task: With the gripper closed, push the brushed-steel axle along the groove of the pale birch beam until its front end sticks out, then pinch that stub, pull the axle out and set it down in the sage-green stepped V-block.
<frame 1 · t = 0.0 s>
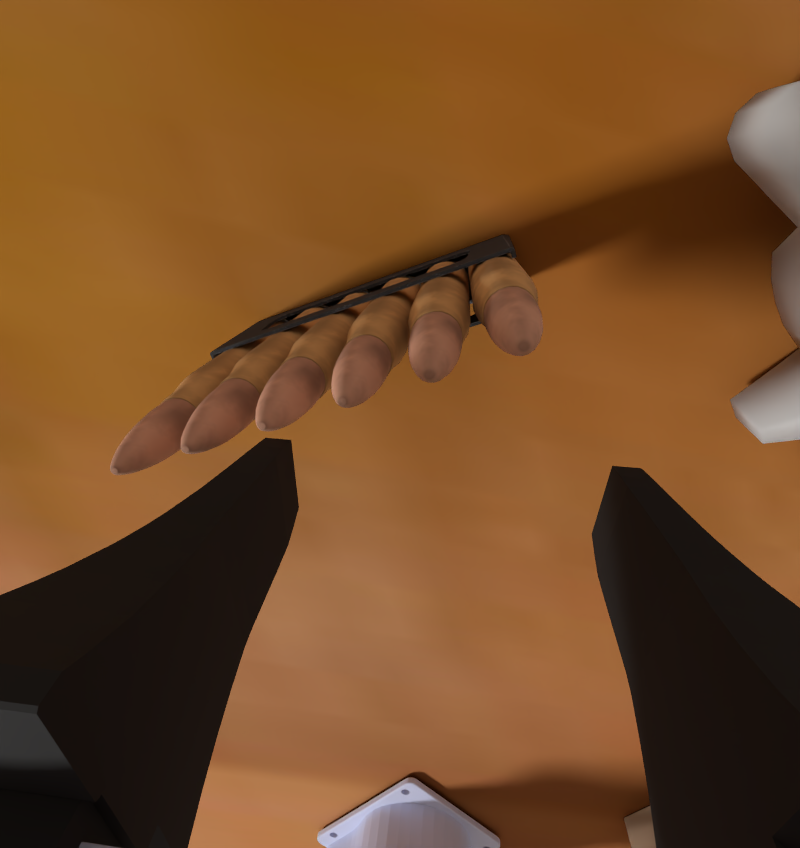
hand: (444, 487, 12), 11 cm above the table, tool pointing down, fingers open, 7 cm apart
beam: (759, 797, 30), on the table
ammunition clip: (383, 301, 21), on the table
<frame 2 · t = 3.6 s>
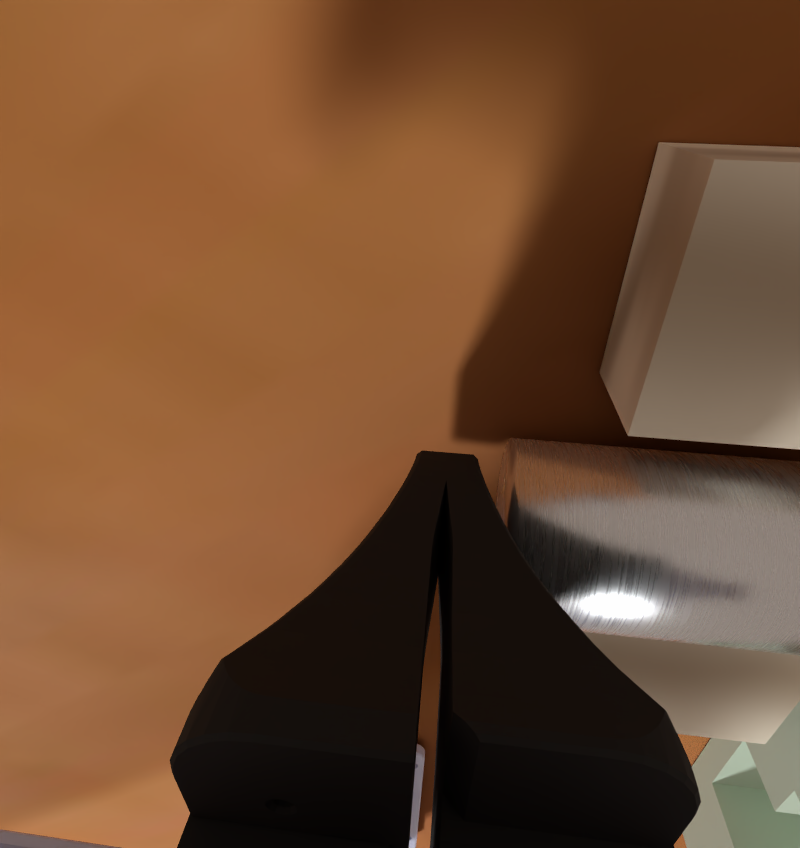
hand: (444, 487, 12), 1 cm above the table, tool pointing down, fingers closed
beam: (702, 473, 13), on the table
axle: (693, 470, 13), on the table, tilted 18°, touching gripper
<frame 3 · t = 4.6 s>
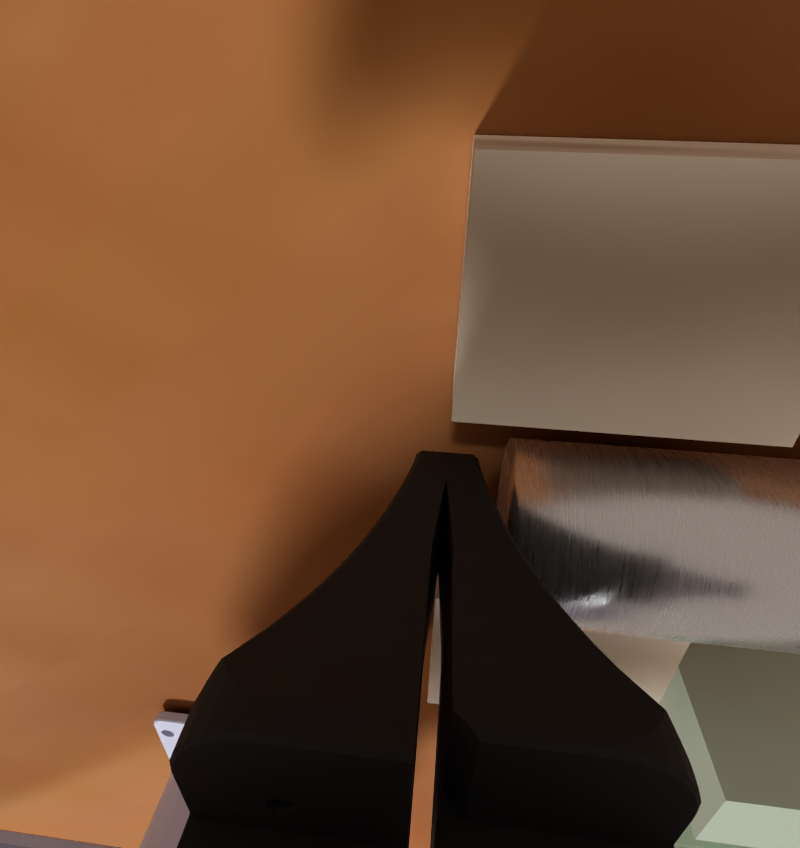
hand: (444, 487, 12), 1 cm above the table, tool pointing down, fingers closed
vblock: (742, 733, 18), on the table
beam: (568, 461, 13), on the table
axle: (694, 469, 13), on the table, tilted 18°, touching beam, gripper
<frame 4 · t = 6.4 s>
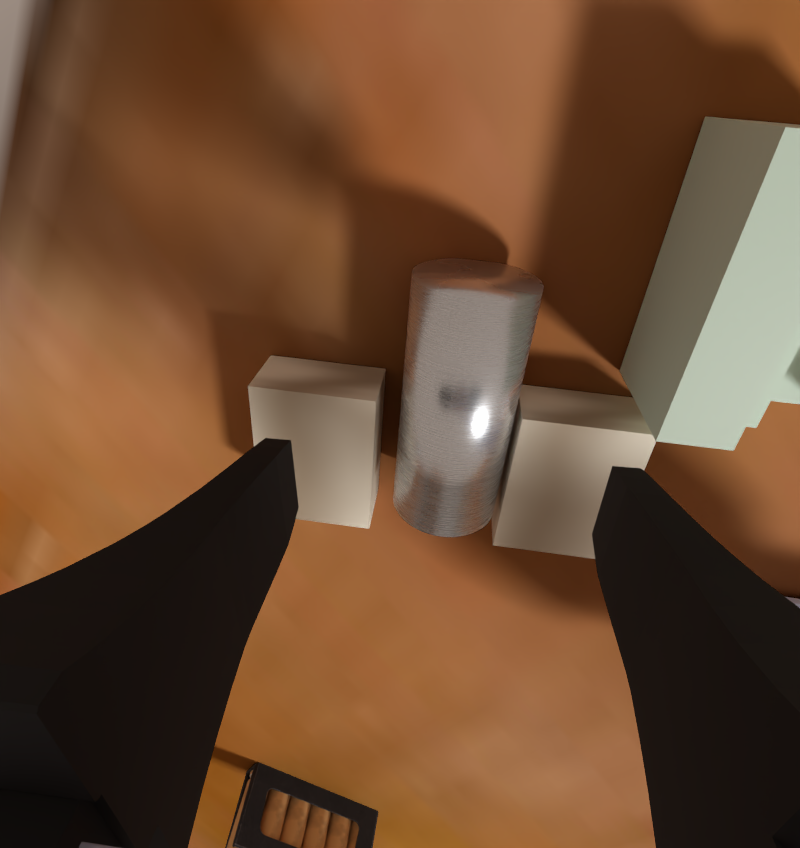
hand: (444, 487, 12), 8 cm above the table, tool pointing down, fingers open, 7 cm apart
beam: (442, 440, 22), on the table
ammunition clip: (314, 787, 41), on the table
axle: (447, 376, 20), on the table, tilted 13°
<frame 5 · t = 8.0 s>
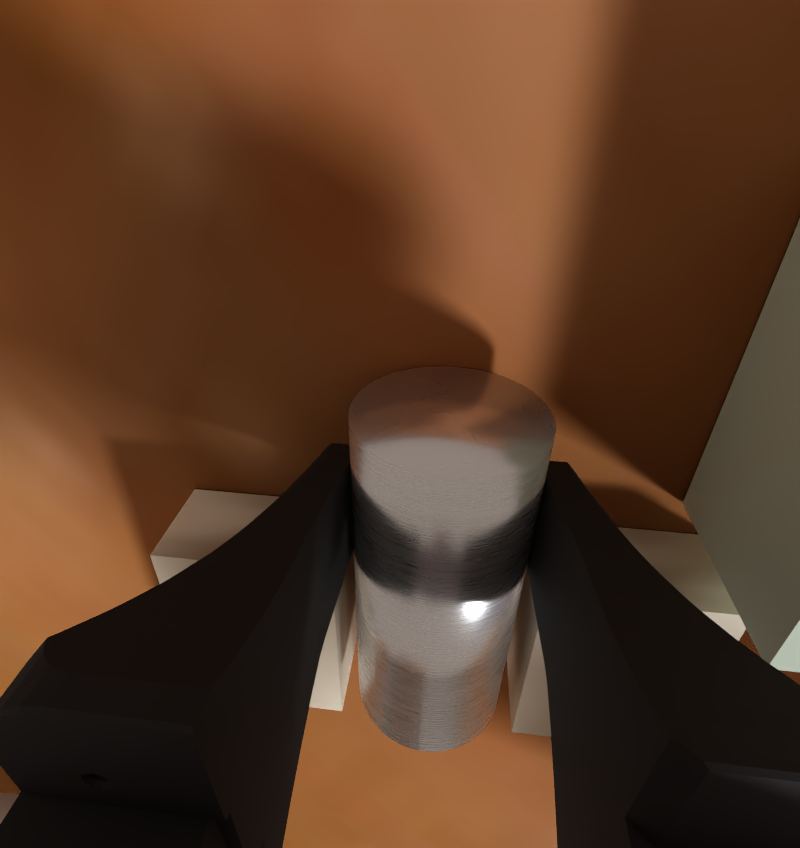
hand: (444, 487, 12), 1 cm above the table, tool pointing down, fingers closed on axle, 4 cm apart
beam: (435, 585, 16), on the table
bunny figurine: (93, 810, 30), on the table
axle: (436, 513, 14), on the table, touching gripper
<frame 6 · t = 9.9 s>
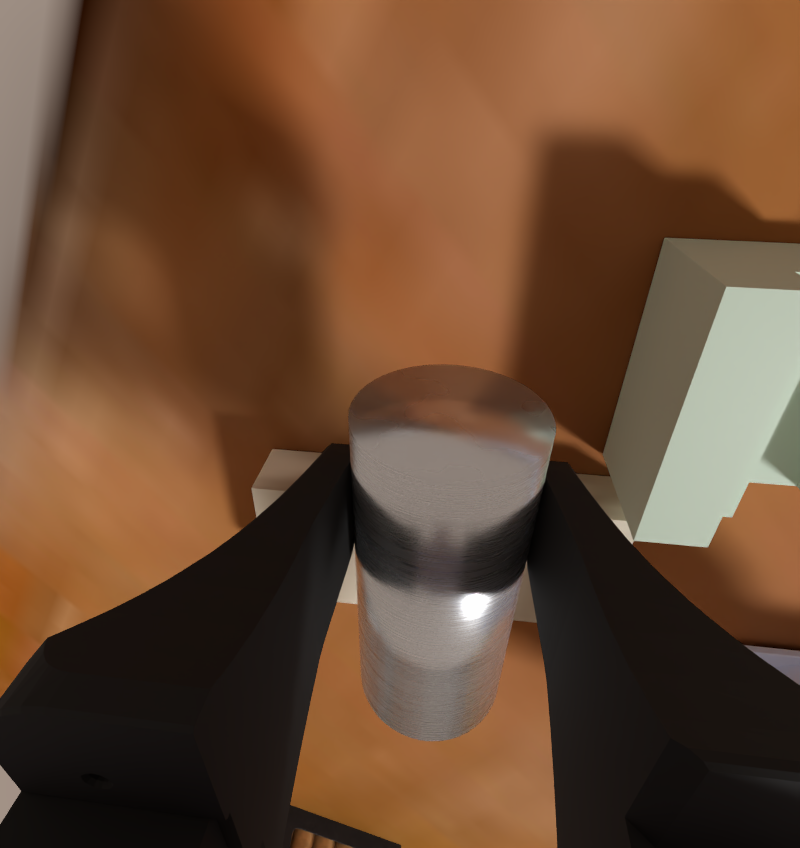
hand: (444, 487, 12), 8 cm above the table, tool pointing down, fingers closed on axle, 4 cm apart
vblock: (785, 369, 17), on the table
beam: (438, 518, 23), on the table
ammunition clip: (338, 824, 42), on the table
axle: (435, 508, 14), point 6 cm above the table, touching gripper
when the fingers open (6 cm above the table, at t = 12.0 s): axle drops 2 cm, resting on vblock.
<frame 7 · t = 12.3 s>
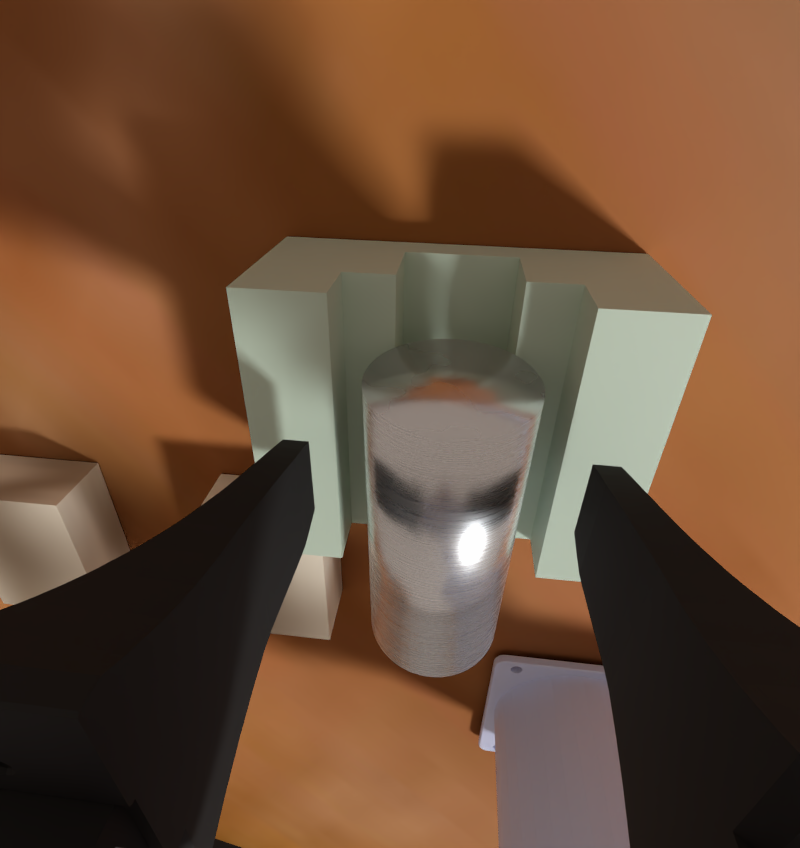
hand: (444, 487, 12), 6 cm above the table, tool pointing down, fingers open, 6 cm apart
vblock: (451, 373, 17), on the table
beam: (175, 525, 22), on the table
axle: (439, 471, 16), point 2 cm above the table, tilted 6°, touching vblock
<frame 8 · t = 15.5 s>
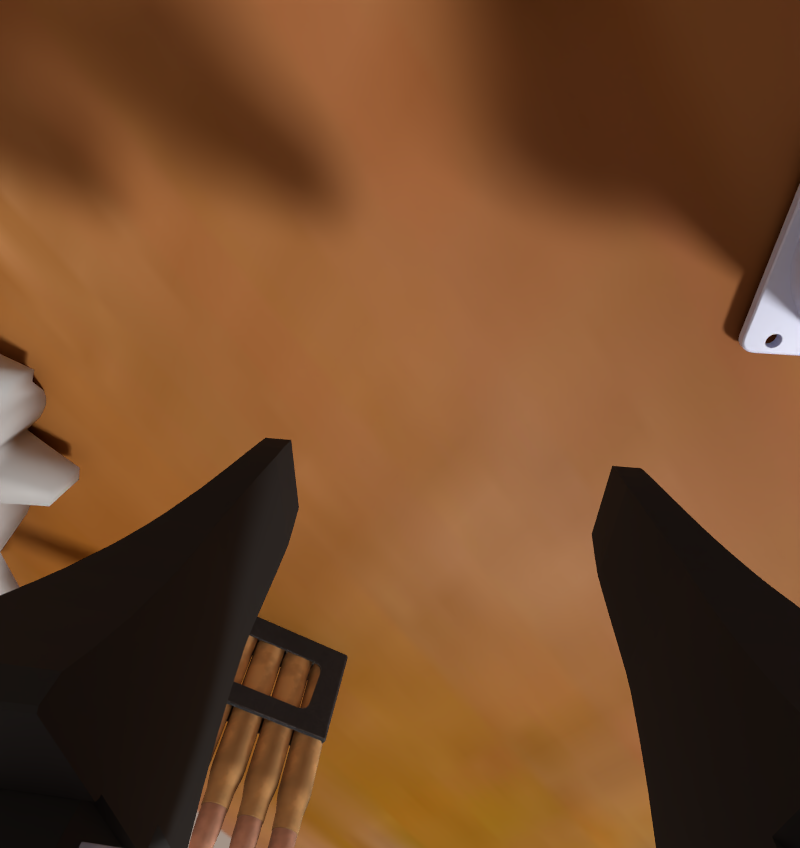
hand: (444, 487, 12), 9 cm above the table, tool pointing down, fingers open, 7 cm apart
ammunition clip: (264, 626, 32), on the table
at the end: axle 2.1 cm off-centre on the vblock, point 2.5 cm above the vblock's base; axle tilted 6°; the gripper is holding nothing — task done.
